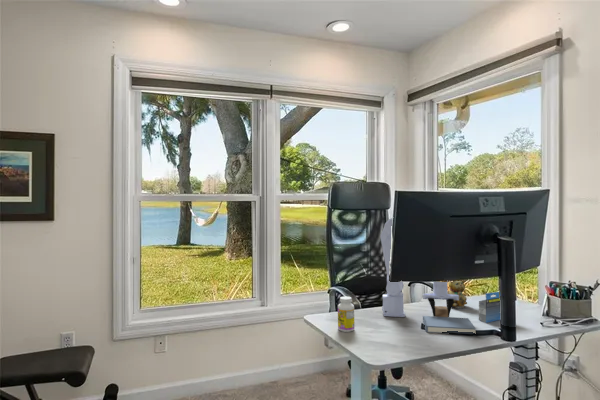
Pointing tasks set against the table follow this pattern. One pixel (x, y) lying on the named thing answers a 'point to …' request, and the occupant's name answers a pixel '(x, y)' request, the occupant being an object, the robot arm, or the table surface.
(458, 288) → the decorative figurine
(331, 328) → the table surface
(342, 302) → the supplement bottle
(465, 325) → the book
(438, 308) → the walnut block
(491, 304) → the label tape box
